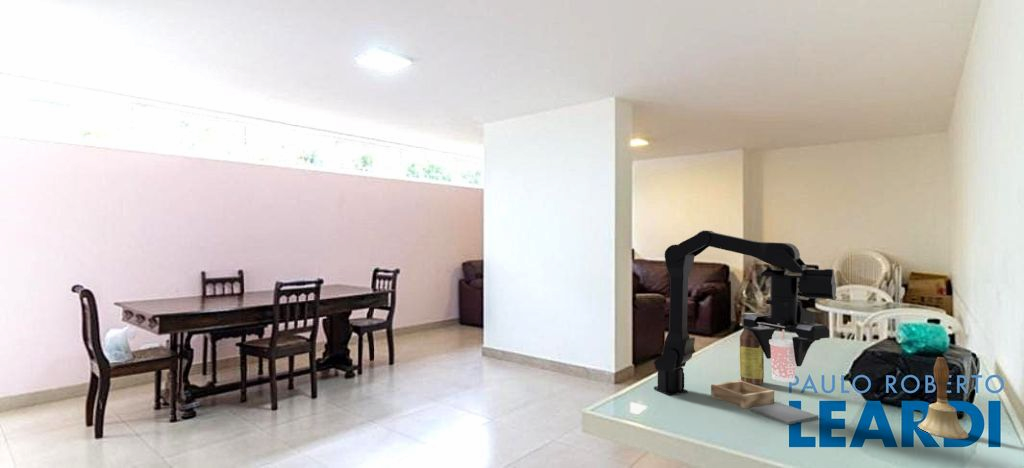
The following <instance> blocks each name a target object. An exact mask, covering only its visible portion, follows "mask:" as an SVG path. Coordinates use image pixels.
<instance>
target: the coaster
mask: <svg viewBox="0 0 1024 468" xmlns="http://www.w3.org/2000/svg"><path fill="white" fill-rule="evenodd" d="M750 411H751V412H754V413H757V414H759V415H762V416H764V417H768V418H770V419H772V420H776V421H777V422H780V423H783V424H786V425H794V424H797V423H796V422H799V423H802V422H807V421H808V422H809V421H813V420H816V419H819V415H818V414H815V413H811V412H808V411H806V410H803V409H800V408H796V407H793V406H791V405H788V404H785V403H782V402H775V403H771V404H766V405H760V406H755V407H750Z"/></svg>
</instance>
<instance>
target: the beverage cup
mask: <svg viewBox="0 0 1024 468" xmlns="http://www.w3.org/2000/svg"><path fill="white" fill-rule="evenodd" d="M781 331H782V333H781V334H782V338H772V339H770V340H769V344H770V348H771V358H770V362H771V378H772V379H773V381H777V382H783V383H793V382H795V379H796V376H795V375H796V367H797V366H796V362H795V356H794V348H793V340H792V339H788V338H787V339H785V337H786V336H785V331H786V330H783V329H781Z"/></svg>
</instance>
